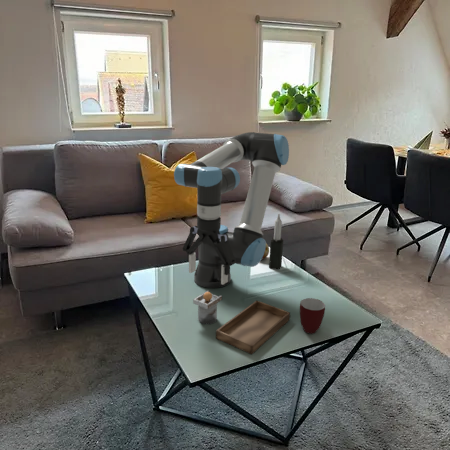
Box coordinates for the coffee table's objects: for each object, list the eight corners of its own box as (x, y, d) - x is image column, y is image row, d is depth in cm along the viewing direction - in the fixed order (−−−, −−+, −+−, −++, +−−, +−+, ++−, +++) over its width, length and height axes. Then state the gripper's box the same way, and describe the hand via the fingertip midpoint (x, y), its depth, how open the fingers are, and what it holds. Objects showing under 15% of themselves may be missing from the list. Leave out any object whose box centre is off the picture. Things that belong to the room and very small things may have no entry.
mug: (302, 318, 146) (305, 292, 143) (325, 323, 143) (328, 298, 140) (295, 333, 137) (297, 307, 134) (319, 339, 134) (322, 312, 131)
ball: (201, 300, 141) (201, 292, 140) (206, 296, 143) (207, 289, 142) (208, 303, 139) (208, 295, 138) (213, 299, 142) (214, 292, 141)
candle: (281, 265, 188) (285, 212, 180) (279, 270, 183) (283, 216, 175) (270, 263, 189) (274, 211, 181) (268, 268, 185) (271, 214, 177)
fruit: (258, 263, 190) (258, 246, 187) (249, 256, 197) (250, 240, 194) (272, 260, 193) (273, 244, 190) (263, 254, 200) (264, 238, 197)
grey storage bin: (192, 321, 142) (192, 299, 140) (207, 311, 149) (207, 290, 146) (207, 327, 139) (207, 305, 136) (221, 317, 145) (222, 295, 142)
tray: (215, 338, 133) (216, 330, 132) (256, 307, 152) (256, 300, 151) (251, 354, 126) (252, 346, 125) (289, 320, 145) (290, 312, 144)
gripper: (171, 211, 135) (172, 270, 142) (234, 227, 122) (232, 292, 129) (186, 206, 141) (186, 263, 148) (248, 221, 128) (245, 283, 134)
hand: (207, 277), depth 138 cm, fingers open, 13 cm apart
